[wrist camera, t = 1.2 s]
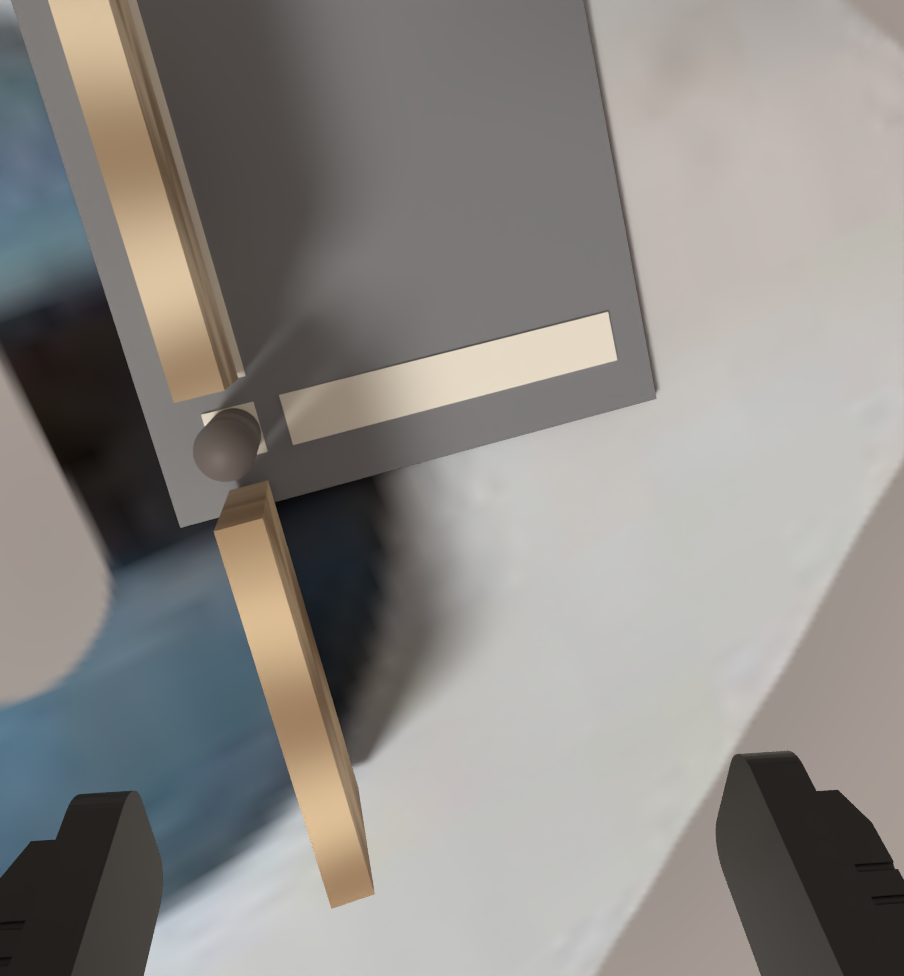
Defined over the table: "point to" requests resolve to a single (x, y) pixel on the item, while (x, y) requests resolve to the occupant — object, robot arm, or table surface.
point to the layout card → (373, 228)
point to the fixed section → (155, 222)
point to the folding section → (295, 688)
